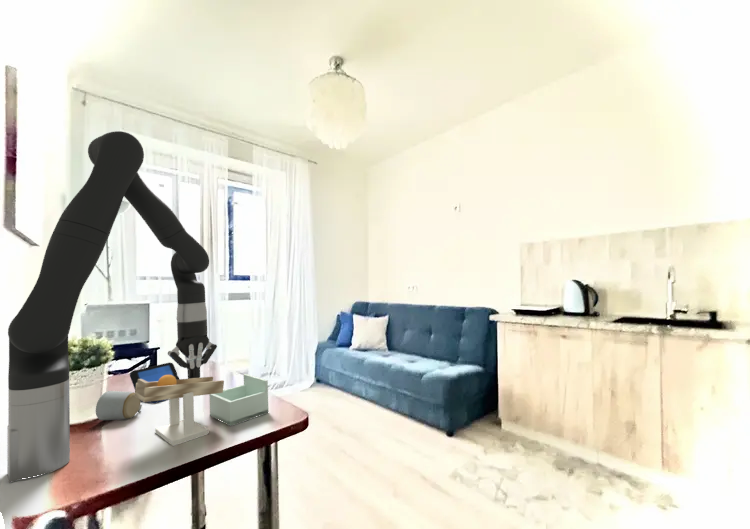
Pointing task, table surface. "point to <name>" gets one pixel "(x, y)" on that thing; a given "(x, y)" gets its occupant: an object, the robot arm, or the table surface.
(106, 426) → the table surface
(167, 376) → the ball
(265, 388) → the bin
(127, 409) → the grey canister
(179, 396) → the chute lever
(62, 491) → the table surface
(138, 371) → the tablet display
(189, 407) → the chute stand
